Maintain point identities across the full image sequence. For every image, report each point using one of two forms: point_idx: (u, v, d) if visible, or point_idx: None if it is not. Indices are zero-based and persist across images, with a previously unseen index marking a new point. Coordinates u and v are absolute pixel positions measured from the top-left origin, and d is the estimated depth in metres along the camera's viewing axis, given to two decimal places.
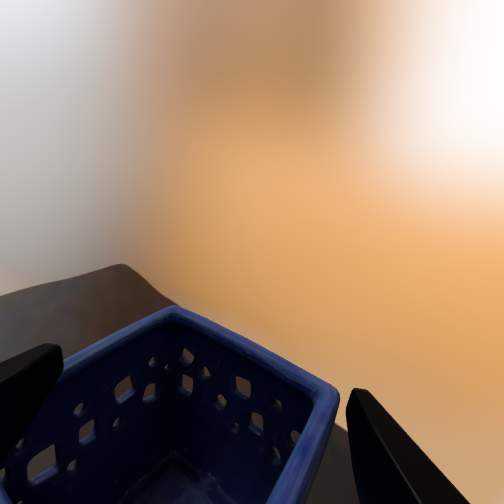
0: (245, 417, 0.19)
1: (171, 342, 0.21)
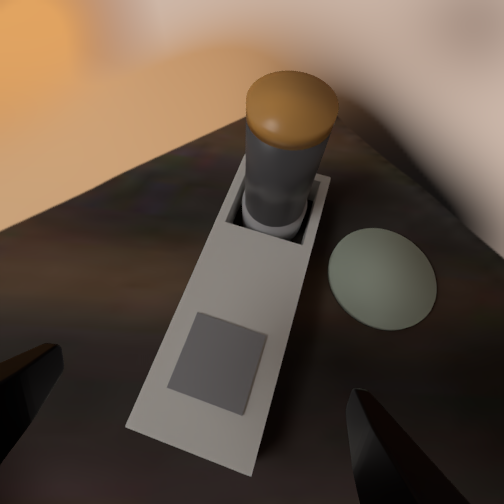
0: None
1: None
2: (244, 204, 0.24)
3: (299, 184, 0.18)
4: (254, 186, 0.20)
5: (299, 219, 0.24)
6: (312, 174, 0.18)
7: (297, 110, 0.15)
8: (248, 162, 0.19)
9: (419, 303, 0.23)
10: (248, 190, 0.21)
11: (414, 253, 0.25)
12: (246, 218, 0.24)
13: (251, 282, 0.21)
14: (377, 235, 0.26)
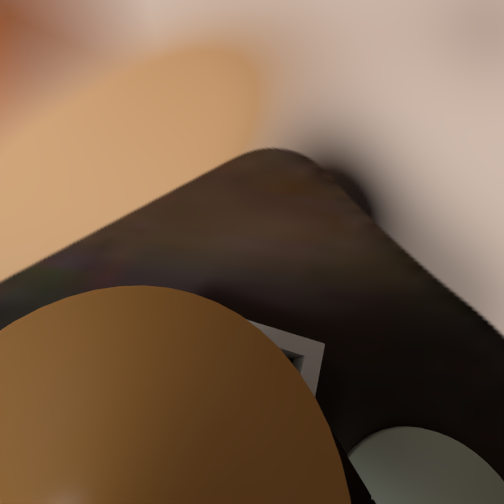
0: None
1: None
2: None
3: None
4: None
5: None
6: None
7: None
8: None
9: None
10: None
11: (492, 489, 0.13)
12: None
13: None
14: (417, 447, 0.13)
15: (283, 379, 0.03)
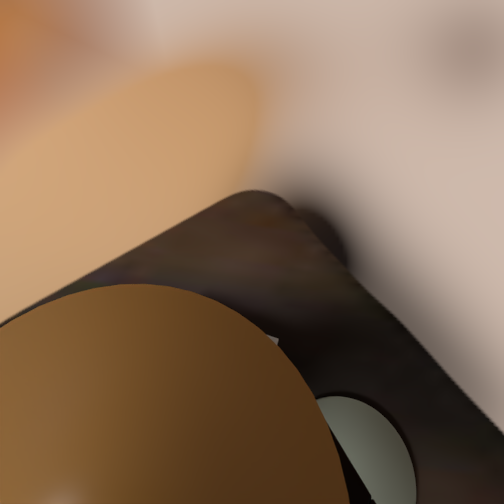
0: None
1: None
2: None
3: None
4: None
5: None
6: None
7: None
8: None
9: None
10: None
11: (388, 436, 0.19)
12: None
13: None
14: (341, 409, 0.20)
15: (282, 377, 0.03)
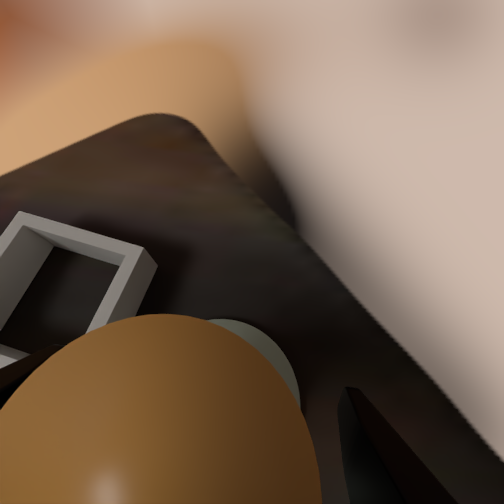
0: None
1: None
2: None
3: None
4: None
5: None
6: None
7: None
8: None
9: None
10: None
11: (274, 361, 0.16)
12: None
13: None
14: None
15: (272, 386, 0.05)
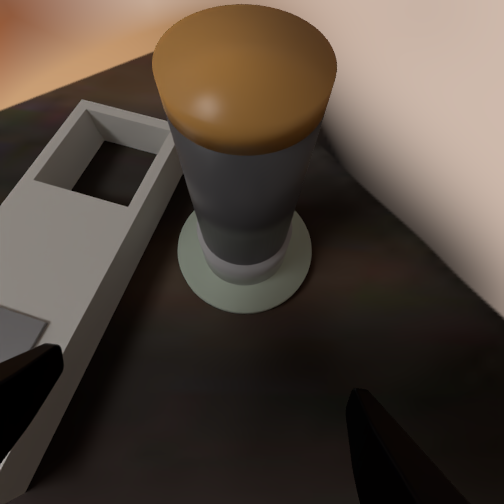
0: None
1: None
2: (199, 231, 0.16)
3: (271, 210, 0.11)
4: (200, 212, 0.12)
5: (280, 252, 0.16)
6: (293, 193, 0.11)
7: (253, 74, 0.08)
8: (184, 174, 0.11)
9: (285, 279, 0.18)
10: (196, 215, 0.13)
11: None
12: (203, 251, 0.17)
13: (46, 255, 0.16)
14: None
15: (309, 28, 0.08)
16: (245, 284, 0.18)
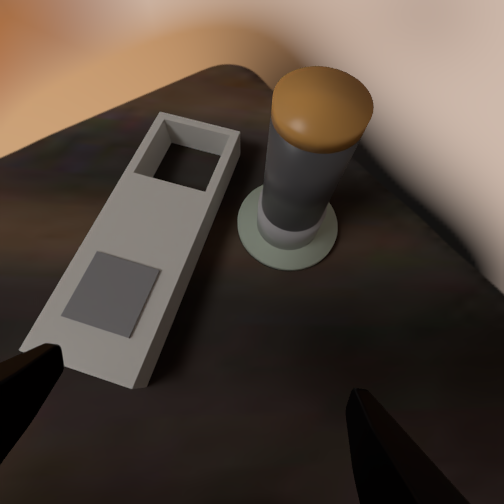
0: None
1: None
2: (261, 208, 0.23)
3: (326, 188, 0.17)
4: (276, 191, 0.18)
5: (319, 223, 0.22)
6: (339, 177, 0.17)
7: (329, 110, 0.14)
8: (270, 165, 0.17)
9: (319, 245, 0.25)
10: (268, 194, 0.20)
11: None
12: (263, 222, 0.23)
13: (152, 225, 0.23)
14: None
15: (356, 81, 0.15)
16: (290, 249, 0.24)
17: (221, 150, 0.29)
